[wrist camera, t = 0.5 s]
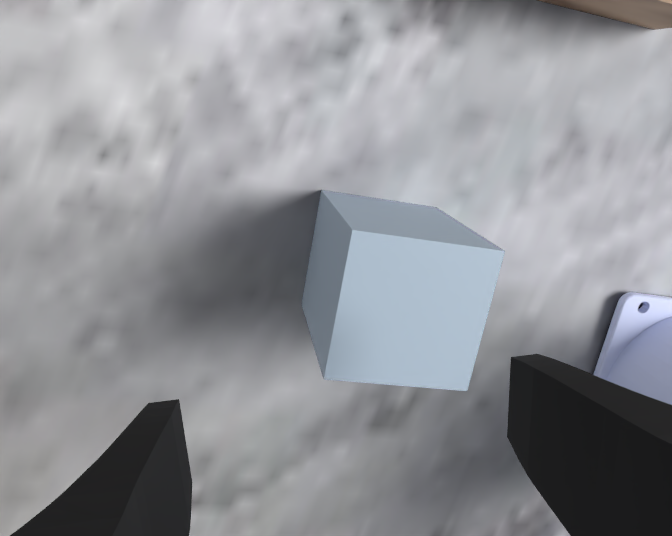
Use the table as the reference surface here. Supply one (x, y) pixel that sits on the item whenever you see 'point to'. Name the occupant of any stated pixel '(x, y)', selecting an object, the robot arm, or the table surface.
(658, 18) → the walnut block
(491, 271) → the slate block
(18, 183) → the table surface
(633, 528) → the robot arm
